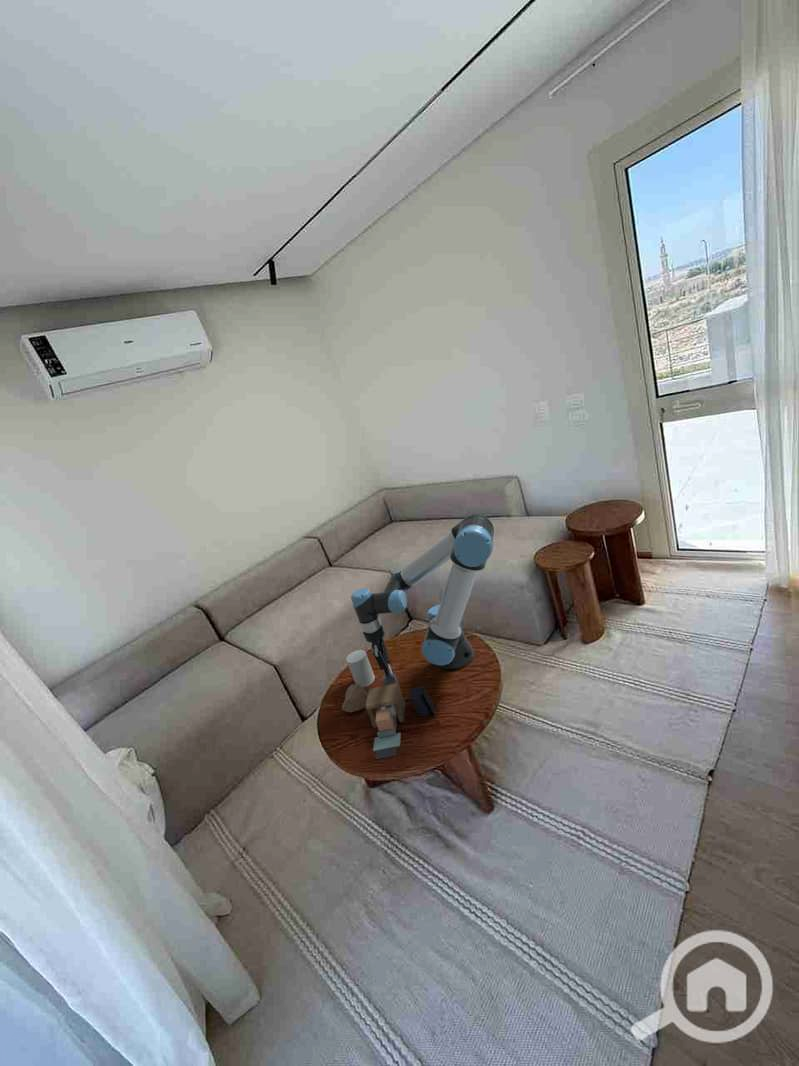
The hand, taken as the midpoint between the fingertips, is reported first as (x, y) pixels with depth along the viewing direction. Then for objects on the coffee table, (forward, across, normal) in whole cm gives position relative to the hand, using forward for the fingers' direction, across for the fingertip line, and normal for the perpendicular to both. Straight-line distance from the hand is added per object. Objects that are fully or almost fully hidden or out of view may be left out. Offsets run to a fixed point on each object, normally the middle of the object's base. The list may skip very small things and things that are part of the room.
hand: (390, 679), depth 170 cm
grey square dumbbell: (+2, +14, 0) cm, 14 cm away
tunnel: (+2, +17, 0) cm, 17 cm away
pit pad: (+2, +34, +1) cm, 34 cm away
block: (+1, +24, 0) cm, 24 cm away
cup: (+3, -6, -12) cm, 14 cm away
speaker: (+3, +19, +14) cm, 23 cm away
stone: (+3, +8, -14) cm, 16 cm away
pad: (+2, +29, +1) cm, 29 cm away
